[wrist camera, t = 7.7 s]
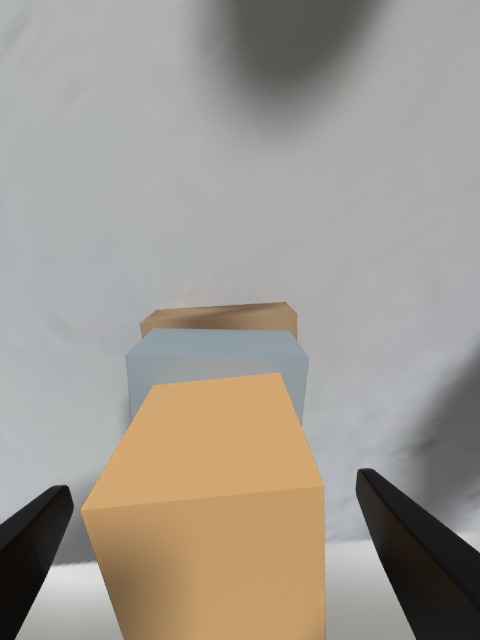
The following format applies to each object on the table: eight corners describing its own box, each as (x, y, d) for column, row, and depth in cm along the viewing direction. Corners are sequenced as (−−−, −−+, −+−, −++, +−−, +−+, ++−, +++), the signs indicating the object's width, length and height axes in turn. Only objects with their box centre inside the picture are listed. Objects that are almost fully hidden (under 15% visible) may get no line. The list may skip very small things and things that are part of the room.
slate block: (289, 330, 13) (308, 357, 10) (280, 443, 15) (293, 499, 12) (153, 328, 13) (125, 355, 10) (160, 443, 15) (139, 499, 12)
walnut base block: (283, 300, 16) (297, 313, 13) (284, 409, 19) (296, 444, 15) (159, 308, 16) (139, 323, 13) (174, 416, 18) (161, 453, 15)
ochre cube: (280, 372, 10) (323, 485, 5) (286, 474, 11) (325, 640, 7) (153, 385, 10) (79, 510, 5) (174, 485, 11) (131, 660, 7)
